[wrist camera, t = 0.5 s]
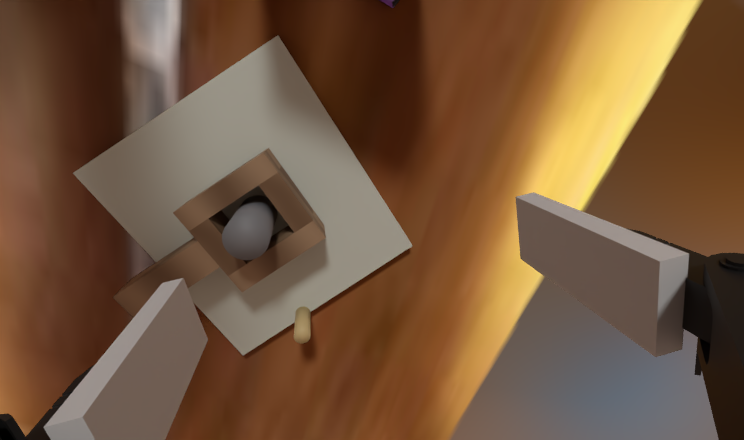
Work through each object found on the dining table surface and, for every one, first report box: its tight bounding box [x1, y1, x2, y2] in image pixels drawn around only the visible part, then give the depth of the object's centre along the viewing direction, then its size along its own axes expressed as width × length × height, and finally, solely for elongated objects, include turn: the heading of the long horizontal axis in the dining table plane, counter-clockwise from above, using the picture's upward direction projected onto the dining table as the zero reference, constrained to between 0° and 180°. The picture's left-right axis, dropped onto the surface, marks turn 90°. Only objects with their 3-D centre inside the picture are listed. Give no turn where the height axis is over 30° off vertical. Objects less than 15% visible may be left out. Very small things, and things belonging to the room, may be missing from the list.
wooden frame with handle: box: [113, 148, 326, 318], centre depth 35 cm, size 18×9×4 cm, turn 122°
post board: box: [73, 35, 412, 355], centre depth 34 cm, size 24×22×9 cm
